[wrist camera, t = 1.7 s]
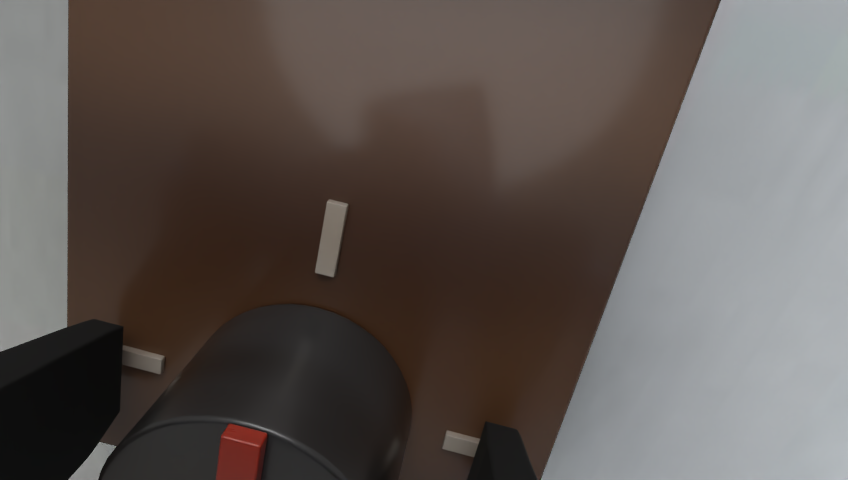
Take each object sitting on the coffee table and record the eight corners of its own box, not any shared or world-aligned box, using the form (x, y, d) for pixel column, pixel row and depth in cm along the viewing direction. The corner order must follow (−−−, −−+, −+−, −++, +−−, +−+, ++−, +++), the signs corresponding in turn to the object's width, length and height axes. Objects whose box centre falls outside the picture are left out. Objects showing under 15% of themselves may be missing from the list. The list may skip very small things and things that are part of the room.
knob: (388, 511, 13) (345, 695, 10) (188, 457, 14) (78, 620, 10) (434, 335, 12) (403, 482, 8) (206, 276, 12) (80, 395, 8)
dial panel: (494, 510, 17) (492, 618, 14) (136, 414, 17) (60, 500, 14) (687, -43, 12) (746, -54, 9) (168, -166, 12) (59, -215, 9)
